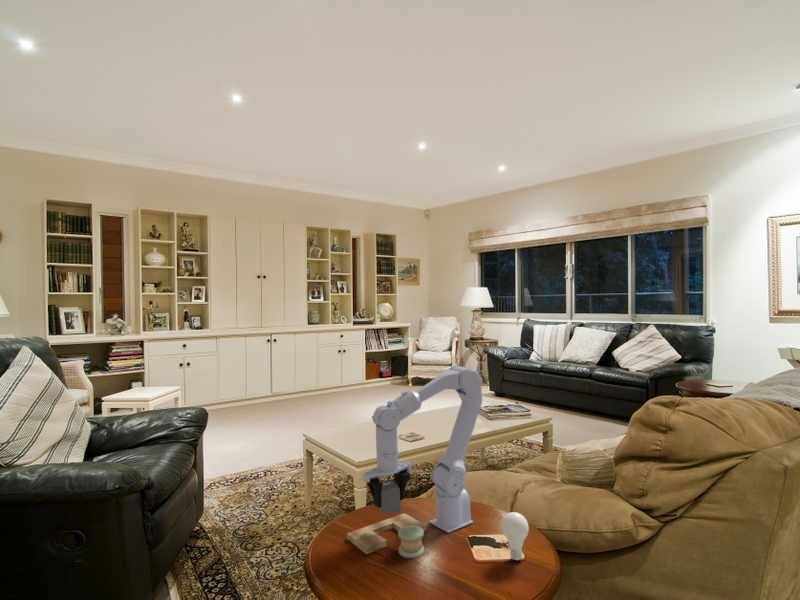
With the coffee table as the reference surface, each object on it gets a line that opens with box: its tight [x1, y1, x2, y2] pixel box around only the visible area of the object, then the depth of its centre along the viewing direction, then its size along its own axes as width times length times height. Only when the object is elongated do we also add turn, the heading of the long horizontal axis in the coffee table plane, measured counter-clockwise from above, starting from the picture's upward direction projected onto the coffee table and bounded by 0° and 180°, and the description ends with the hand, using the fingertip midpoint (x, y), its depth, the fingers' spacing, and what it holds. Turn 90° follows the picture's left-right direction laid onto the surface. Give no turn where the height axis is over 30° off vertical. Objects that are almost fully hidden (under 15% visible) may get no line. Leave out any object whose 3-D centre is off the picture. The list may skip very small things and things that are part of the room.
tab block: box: [378, 481, 401, 515], centre depth 124 cm, size 5×5×6 cm
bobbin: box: [397, 525, 425, 559], centre depth 116 cm, size 6×6×5 cm
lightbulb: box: [500, 511, 530, 562], centre depth 111 cm, size 6×6×11 cm
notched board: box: [346, 512, 427, 555], centre depth 125 cm, size 19×10×2 cm, turn 125°
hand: (388, 502), depth 124 cm, fingers closed on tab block, 6 cm apart
